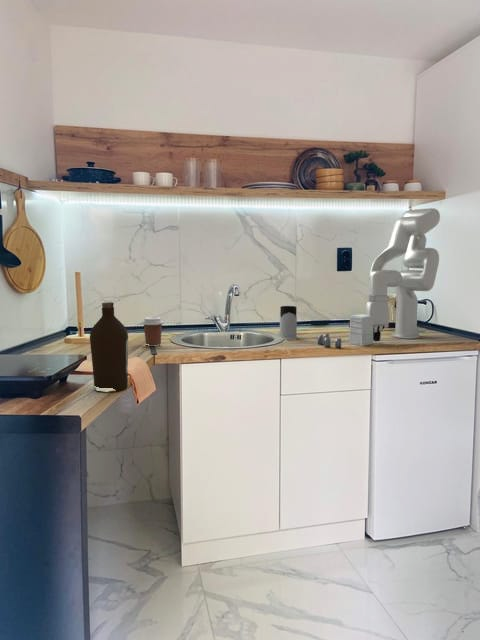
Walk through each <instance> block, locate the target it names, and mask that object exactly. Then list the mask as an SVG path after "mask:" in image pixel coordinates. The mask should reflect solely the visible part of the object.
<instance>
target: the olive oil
mask: <svg viewBox="0 0 480 640" xmlns="http://www.w3.org/2000/svg"><path fill="white" fill-rule="evenodd" d="M101 306H102V307H101V314H102V315H101V317H100V318H99V319H98V321H97V322H96V323H95V324H94V325H93V326H92V328H91V329H90V330H91V331H90V333H89V344H90V352H91V362H92V373H93V374H92V375H93V387H94V386H96V387H99V388H113V389H115V390H116V392H115V393H117V392H121V391H122V392H123V391H124V390H126V389H127V388H128V387H129V386H128V385H129V377H128V376H129V375H128V373H129V372H128V371H129V367H128V365H129V333H128V329H127V327H126V326H125V325H124V324H123V323H122V322H121V321H120V320H119V319H118V318H117V317H116V316H115V307H114V306H115V305H114V302H112V301H111V302H110V301H109V302H108V301H107V302H102V303H101Z"/></svg>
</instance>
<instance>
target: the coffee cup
mask: <svg viewBox="0 0 480 640" xmlns="http://www.w3.org/2000/svg"><path fill="white" fill-rule="evenodd" d="M163 324H164V321H163V320H162V318H161V317H159V316H149V317H147V316H146V317H144V320H143V321H142V323H141V325H143V330H144V338H145V345H146V344H149V345H155V346H157V347H159V346H158V345H162V330H163V329H162V328H163Z"/></svg>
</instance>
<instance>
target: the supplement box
mask: <svg viewBox="0 0 480 640" xmlns="http://www.w3.org/2000/svg"><path fill="white" fill-rule="evenodd" d="M349 344H351V345H355V346H362V347H364V346H369V345H373V344H374V340H373V316H368V315H365V313H363V314H361V313H360V314H352V315H350V316H349Z"/></svg>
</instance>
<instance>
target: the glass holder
mask: <svg viewBox="0 0 480 640" xmlns="http://www.w3.org/2000/svg"><path fill="white" fill-rule="evenodd" d="M279 310H280V311H279V314H280V315H279V337H280V338H283V339H284V340H283V341H295V340H296V341H297V340H298V336H297V333H298V332H297V329H298V328H297V325H298V324H297V323H298V321H297V320H298V317H297V306H295V305H282V306H280V309H279Z"/></svg>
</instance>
